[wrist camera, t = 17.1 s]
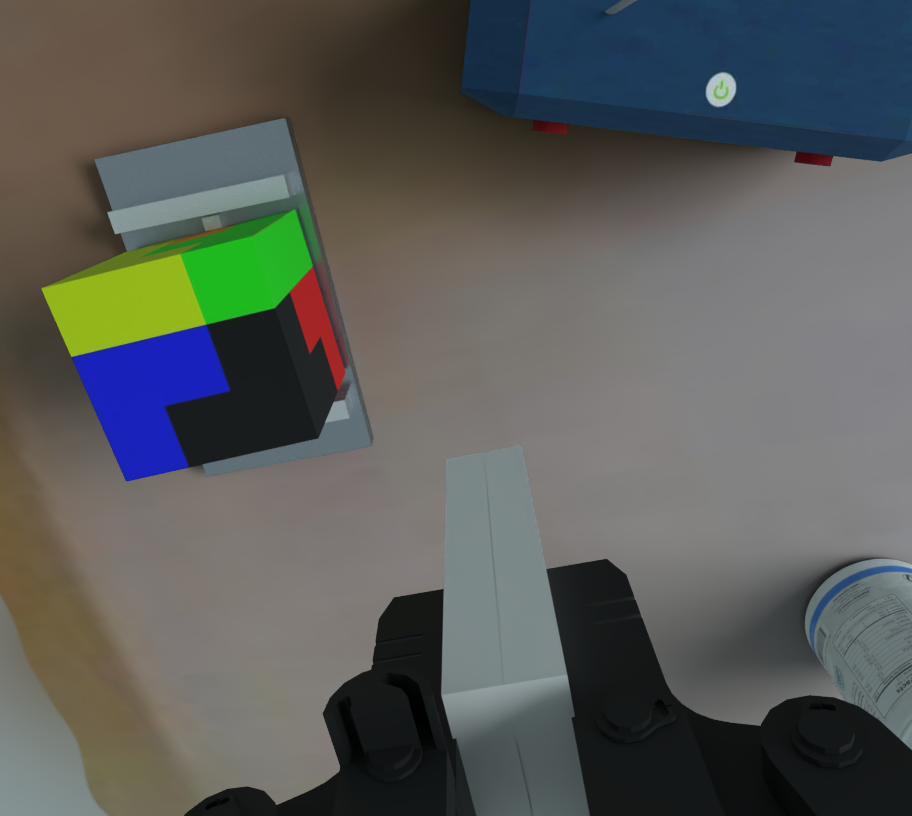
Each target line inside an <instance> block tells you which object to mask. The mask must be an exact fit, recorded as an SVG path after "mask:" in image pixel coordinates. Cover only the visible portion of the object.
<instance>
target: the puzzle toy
mask: <svg viewBox="0 0 912 816" xmlns="http://www.w3.org/2000/svg"><path fill="white" fill-rule="evenodd" d="M41 289H42V292H43V294H44V296H45V298H46V301H47V303H48V305H49V307H50V310H51V312H52V314H53V316H54V319H55V321H56V323H57V326H58V328H59V330H60V332H61V335H62V337H63V339H64V341H65V344H66V346H67V348H68V351H69V353H70V355H71V357H72V360H73V362H74V364H75V366H76V369H77V371H78V373H79V375H80V378H81V380H82V382H83V385H84V387H85V389H86V391H87V394H88V396H89V398H90V400H91V403H92V405H93V407H94V410H95V412H96V414H97V416H98V419H99V421H100V423H101V425H102V428H103V430H104V432H105V434H106V437H107V439H108V441H109V444H110V446H111V448H112V450H113V453H114V455H115V457H116V459H117V462H118V464H119V466H120V469H121V471H122V473H123V475H124V478H125V480H126V481H131V480H135V479H140V478H144V477H149V476H153V475H158V474H162V473H167V472H171V471H176V470H180V469H184V468H189V467H193V466H198V465H202V464H207V463H211V462H216V461H220V460H225V459H229V458H234V457H238V456H242V455H247V454H251V453H256V452H260V451H265V450H269V449H274V448H278V447H283V446H287V445H292V444H296V443H301V442H305V441H309V440H314V439H318V438H319V436H320V434H321V431H322V429H323V426H324V424H325V422H326V419H327V417H328V414H329V412H330V410H331V407H332V405H333V402H334V400H335V398H336V395H337V393H338V390H339V388H340V385H341V383H342V381H343V378H344V376H345V373H346V372H345V369H344V366H343V363H342V359H341V356H340V353H339V350H338V346H337V343H336V340H335V337H334V333H333V330H332V327H331V324H330V320H329V317H328V314H327V311H326V307H325V304H324V301H323V298H322V294H321V291H320V288H319V285H318V281H317V278H316V275H315V272H314V268H313V265H312V262H311V259H310V255H309V252H308V249H307V246H306V242H305V239H304V236H303V233H302V229H301V226H300V223H299V220H298V216H297V213H296V210H295V209H294V210H290V211H286V212H282V213H278V214H274V215H270V216H266V217H262V218H258V219H254V220H250V221H246V222H242V223H238V224H234V225H230V226H226V227H222V228H218V229H214V230H210V231H206V232H202V233H198V234H194V235H190V236H186V237H182V238H178V239H174V240H170V241H166V242H162V243H158V244H154V245H150V246H146V247H142V248H138V249H134V250H130V251H127V252H125V253H123V254H120V255H118V256H116V257H113V258H111V259H109V260H106V261H104V262H102V263H99V264H97V265H95V266H92V267H90V268H88V269H85V270H83V271H81V272H78V273H76V274H74V275H71V276H69V277H67V278H65V279H62V280H60V281H58V282H55V283H53V284H51V285H48V286H46V287H44V288H41Z"/></svg>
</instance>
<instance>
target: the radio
mask: <svg viewBox="0 0 912 816" xmlns="http://www.w3.org/2000/svg"><path fill="white" fill-rule="evenodd" d="M460 93H462V94H464V95H465V96H467V97H469V98H471V99H472V100H474V101H476V102H478V103H479V104H481V105H483V106H485V107H486V108H488V109H490V110H492V111H493V112H495V113H497V114H498V115H500V116H506V117H515V118H523V119H531V120H534V122H533V129H532V131H538V132H546V133H554V134H564V135H566V134H567V128H568V124H573V125H581V126H589V127H597V128H606V129H614V130H622V131H631V132H639V133H647V134H655V135H664V136H672V137H680V138H689V139H697V140H705V141H713V142H722V143H730V144H738V145H747V146H755V147H763V148H771V149H780V150H788V151H796V152H797V153H796V157H795V161H794V162H796V163H804V164H813V165H822V166H831V162H832V158H833V156H839V157H847V158H855V159H864V160H872V161H885V160H888V159H892V158H896V157H900V156H903V155H907V154H911V153H912V0H470V6H469V15H468V25H467V34H466V44H465V53H464V62H463V72H462V81H461V91H460Z"/></svg>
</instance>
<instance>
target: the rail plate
mask: <svg viewBox="0 0 912 816" xmlns="http://www.w3.org/2000/svg"><path fill="white" fill-rule="evenodd" d="M95 163H96V166H97V168H98V171H99V174H100V177H101V180H102V183H103V185H104V188H105V191H106V194H107V197H108V199H109V202H110V205H111V208H112V211H110V212H107V213H108V216H109V219H110V221H111V224H112V227H113V230H114V233H115V234H118V233H121V236H122V239H123V242H124V245H125V247H126V250H127V251H130V250H134V249H138V248H142V247H146V246H150V245H154V244H158V243H162V242H166V241H170V240H174V239H178V238H182V237H186V236H190V235H194V234H198V233H202V232H206V231H210V230H214V229H218V228H222V227H226V226H230V225H234V224H238V223H242V222H246V221H250V220H254V219H258V218H262V217H266V216H270V215H274V214H278V213H282V212H286V211H290V210H294V209H295V210H296V213H297V216H298V220H299V223H300V226H301V229H302V233H303V236H304V239H305V242H306V246H307V249H308V252H309V255H310V259H311V262H312V265H313V268H314V272H315V275H316V278H317V281H318V285H319V288H320V291H321V294H322V298H323V301H324V304H325V307H326V311H327V314H328V317H329V320H330V324H331V327H332V330H333V333H334V337H335V340H336V343H337V346H338V350H339V353H340V356H341V359H342V363H343V366H344V369H345V372H346V373H345V376H344V378H343V381H342V383H341V385H340V388H339V390H338V393H337V395H336V398H335V400H334V402H333V405H332V407H331V410H330V412H329V414H328V417H327V419H326V422H325V424H324V426H323V429H322V431H321V434H320V436H319V438H318V439H314V440H309V441H305V442H301V443H296V444H292V445H287V446H283V447H278V448H274V449H269V450H265V451H260V452H256V453H251V454H247V455H242V456H238V457H234V458H229V459H225V460H220V461H216V462H211V463H207V464H202V465H203V468H204V470H205V473H206V476H207V477H208V476H213V475H218V474H224V473H229V472H235V471H240V470H245V469H251V468H256V467H261V466H267V465H272V464H278V463H283V462H288V461H294V460H299V459H305V458H310V457H315V456H321V455H326V454H331V453H337V452H342V451H348V450H353V449H358V448H364V447H369V446H372V442H373V435H372V431H371V427H370V424H369V420H368V416H367V412H366V408H365V404H364V401H363V397H362V393H361V389H360V385H359V381H358V378H357V374H356V370H355V366H354V362H353V359H352V355H351V351H350V347H349V343H348V339H347V336H346V332H345V328H344V324H343V320H342V316H341V313H340V309H339V305H338V301H337V297H336V294H335V290H334V286H333V282H332V278H331V274H330V271H329V267H328V263H327V259H326V255H325V251H324V248H323V244H322V240H321V236H320V232H319V229H318V225H317V221H316V217H315V213H314V209H313V206H312V202H311V198H310V194H309V190H308V186H307V183H306V179H305V175H304V171H303V167H302V164H301V160H300V156H299V152H298V148H297V144H296V141H295V137H294V133H293V129H292V125H291V121H290V118H283V119H278V120H273V121H269V122H264V123H260V124H255V125H251V126H246V127H241V128H237V129H232V130H228V131H223V132H219V133H214V134H209V135H205V136H200V137H196V138H191V139H186V140H182V141H177V142H173V143H168V144H164V145H159V146H154V147H150V148H145V149H141V150H136V151H132V152H127V153H122V154H118V155H113V156H109V157H104V158H99V159H95Z"/></svg>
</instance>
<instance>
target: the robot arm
mask: <svg viewBox="0 0 912 816" xmlns="http://www.w3.org/2000/svg"><path fill="white" fill-rule="evenodd" d="M323 716H324V719H325V722H326V725H327V728H328V731H329V734H330V737H331V740H332V743H333V746H334V749H335V752H336V755H337V758H338V761H339V764H340V771H339V772H338V773H337V774H336V775H334V776H333V777H332V778H331V779H329V780H328V781H327V782H325V783H323V784H321V785H320V786H318V787H316V788H314V789H312V790H310V791H308V792H306V793H304V794H301V795H299V796H297V797H294V798H292V799H290V800H287V801H285V802H283V803H281V804H278V805H276V804H275V802H274V801H273V800H272V799H271V798H270V797H269V796H268V795H267V794H266V792H265V791H262V790H259V789H255V788H251V787H240V788H231V789H226V790H224V791H222V792H219V793H217V794H215V795H212V796H210V797H208V798H206V799H204V800H203V801H202V802H200V803H199V804H198V805H196V806H195V807H194V808H192V809H191V810H190V811H188V812H187V813H186V814H185V815H184V816H912V750H911V749H910V748H909V747H908V746H907V745H906V744H905V743H904V742H903V741H902V740H900V739H899V738H898V737H897V736H896V735H895V734H894V733H893V732H892V731H891V730H890V729H889V728H887V727H886V726H885V725H884V724H883V723H882V722H881V721H880V720H879V719H877V718H876V717H874V716H873V715H871V714H870V713H868V712H867V711H865V710H864V709H862V708H861V707H859V706H857V705H854V704H851V703H848V702H846V701H843V700H840V699H837V698H834V697H822V696H811V695H809V696H803V697H798V698H793V699H787V700H786V701H784V702H782V703H781V704H779V705H777V706H775V707H774V708H772V709H770V711H769V712H768V714H767V716H766V717H765V719H764V720H763V722H762V724H761V726H757V725H747V724H737V723H729V722H724V721H719V720H713V719H710V718H708V717H705V716H703V715H700V714H697V713H695V712H694V711H692V710H690V709H689V708H687V707H686V706H684V705H683V704H682V703H681V702H680V701H679V700H678V699H677V698H676V697H675V696H674V695H673V694H672V693H671V691H670V689H669V687H668V686H667V684H666V681H665V679H664V676H663V673H662V671H661V668H660V665H659V662H658V660H657V657H656V654H655V652H654V649H653V646H652V643H651V641H650V638H649V635H648V633H647V630H646V627H645V624H644V622H643V619H642V618H641V614H640V611H639V608H638V606H637V603H636V600H635V599H634V595H633V592H632V589H631V587H630V584H629V581H628V578H627V576H626V574H625V573H623V572H622V571H621V570H620V569H618V568H617V567H616V566H615V565H614V564H612V563H611V562H610V561H609V560H607V559H603V560H597V561H591V562H586V563H580V564H574V565H568V566H562V567H557V568H551V569H546V566H545V561H544V556H543V551H542V546H541V541H540V535H539V530H538V525H537V520H536V515H535V510H534V505H533V500H532V495H531V490H530V485H529V480H528V475H527V470H526V465H525V460H524V455H523V450H522V445H520V446H515V447H509V448H504V449H498V450H493V451H487V452H482V453H476V454H471V455H465V456H460V457H455V458H449V459H447V471H446V514H445V557H444V589H441V590H435V591H429V592H423V593H418V594H412V595H406V596H400V597H394V598H393V600H392V601H391V603H390V604H389V605H388V607H387V608H386V610H385V611H384V613H383V614H382V615H381V617H380V618H379V622H378V629H377V635H376V646H375V649H374V655H373V665H372V669H371V670H369V671H366V672H363V673H361V674H359V675H357V676H356V677H354V678H352V679H351V680H349V681H347V682H345V683H344V684H343V685H342V686H341V687H340V688H339V689H338V690H337V691H336V692H335V693H334V694H333V695H332V696H331V697H330V699H329V701H328V703H327V705H326V708H325V710H324V712H323Z"/></svg>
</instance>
